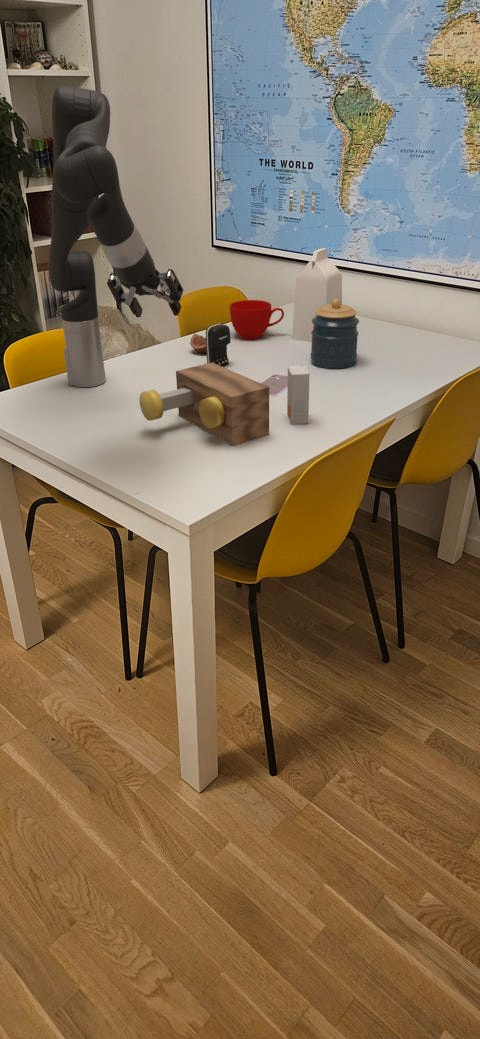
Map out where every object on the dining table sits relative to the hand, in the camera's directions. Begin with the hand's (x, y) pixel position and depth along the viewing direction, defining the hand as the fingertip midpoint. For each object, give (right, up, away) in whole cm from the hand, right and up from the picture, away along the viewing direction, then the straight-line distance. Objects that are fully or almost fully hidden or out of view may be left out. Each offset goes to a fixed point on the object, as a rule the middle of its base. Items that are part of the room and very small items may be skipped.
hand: (158, 313), depth 147 cm
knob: (+2, -18, +16) cm, 24 cm away
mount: (+12, -21, +17) cm, 29 cm away
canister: (+43, +2, +56) cm, 71 cm away
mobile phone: (+26, -8, +40) cm, 48 cm away
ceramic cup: (+22, +15, +80) cm, 84 cm away
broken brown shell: (+6, +7, +66) cm, 67 cm away
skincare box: (+30, -19, +20) cm, 41 cm away
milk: (+41, +15, +79) cm, 90 cm away
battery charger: (+11, +1, +55) cm, 56 cm away
